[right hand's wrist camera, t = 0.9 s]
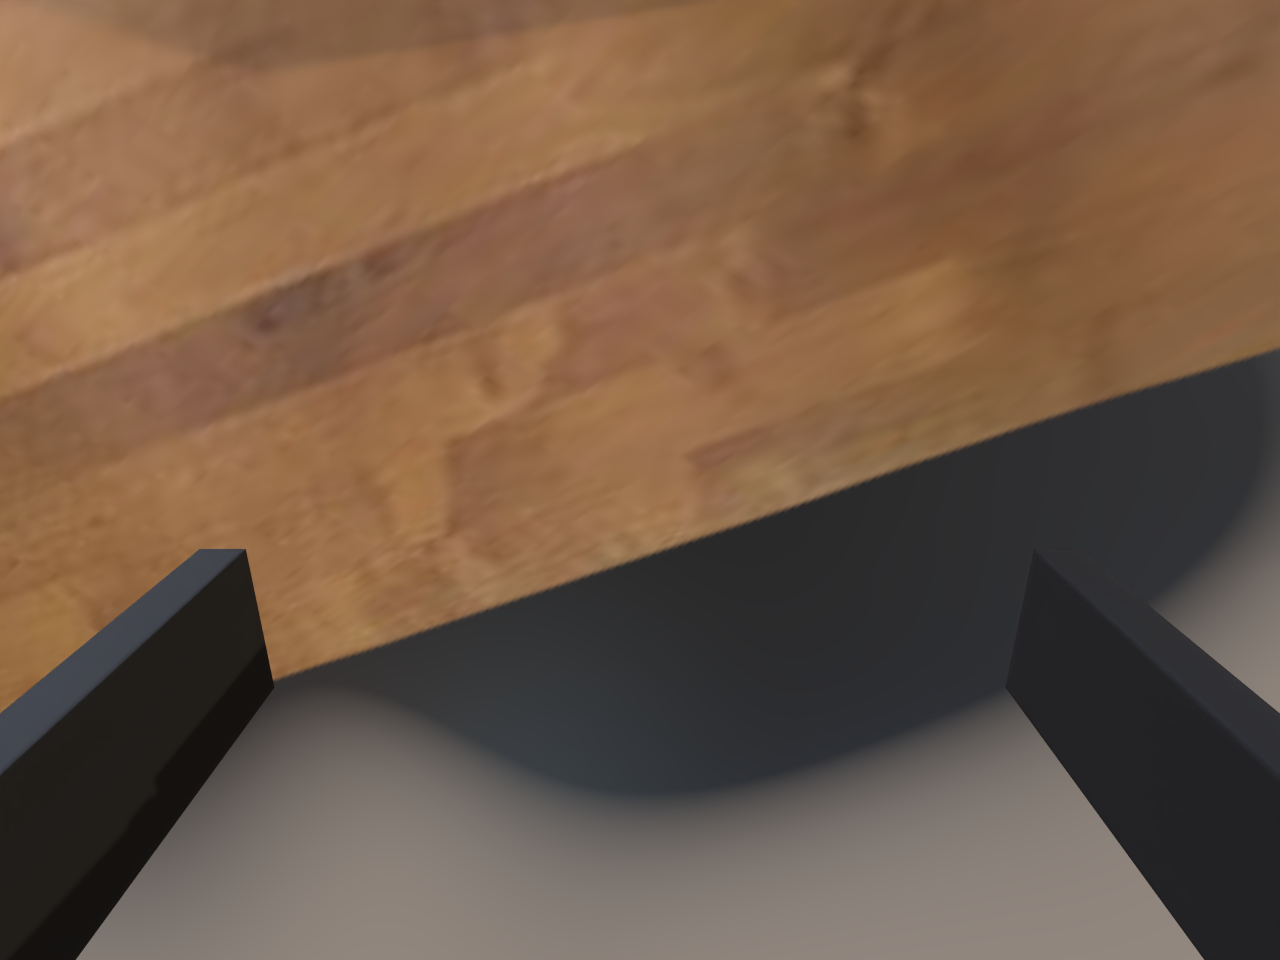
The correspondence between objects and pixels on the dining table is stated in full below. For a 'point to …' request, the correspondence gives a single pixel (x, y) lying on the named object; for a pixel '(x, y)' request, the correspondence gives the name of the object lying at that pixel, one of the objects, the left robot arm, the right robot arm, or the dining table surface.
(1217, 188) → the dining table surface
